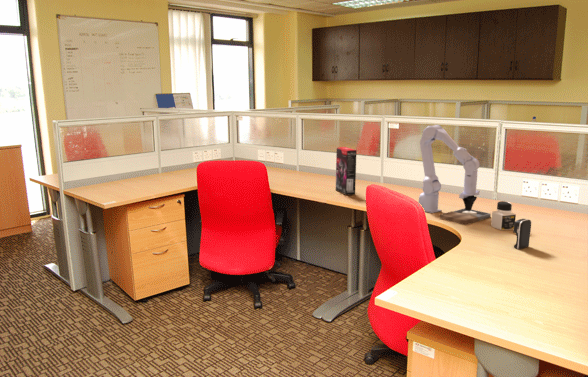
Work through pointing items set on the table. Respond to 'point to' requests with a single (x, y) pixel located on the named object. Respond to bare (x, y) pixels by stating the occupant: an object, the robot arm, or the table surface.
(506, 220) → the medicine bottle
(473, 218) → the board
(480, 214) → the tray
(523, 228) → the battery charger
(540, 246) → the table surface
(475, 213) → the tile
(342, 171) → the graphics card box
